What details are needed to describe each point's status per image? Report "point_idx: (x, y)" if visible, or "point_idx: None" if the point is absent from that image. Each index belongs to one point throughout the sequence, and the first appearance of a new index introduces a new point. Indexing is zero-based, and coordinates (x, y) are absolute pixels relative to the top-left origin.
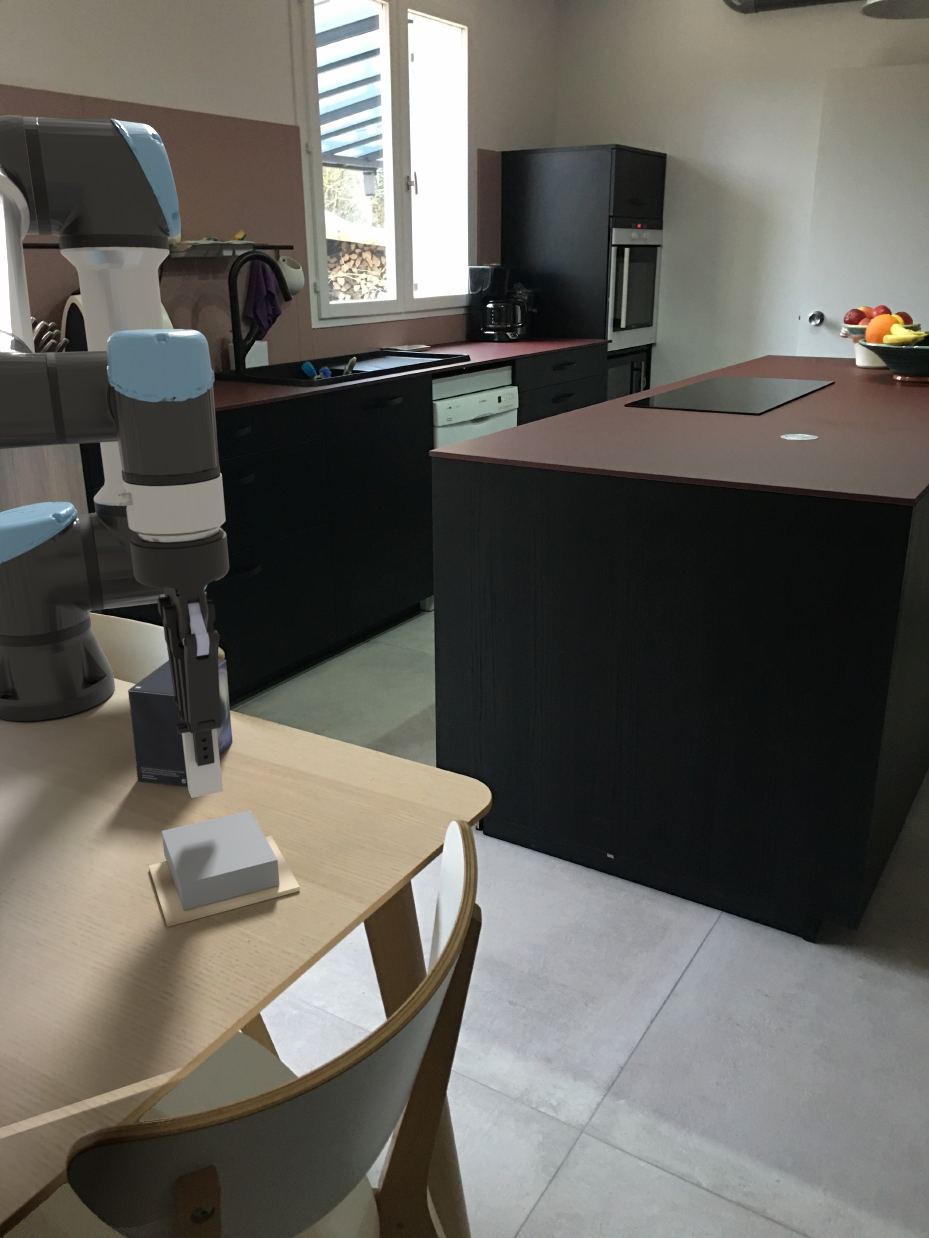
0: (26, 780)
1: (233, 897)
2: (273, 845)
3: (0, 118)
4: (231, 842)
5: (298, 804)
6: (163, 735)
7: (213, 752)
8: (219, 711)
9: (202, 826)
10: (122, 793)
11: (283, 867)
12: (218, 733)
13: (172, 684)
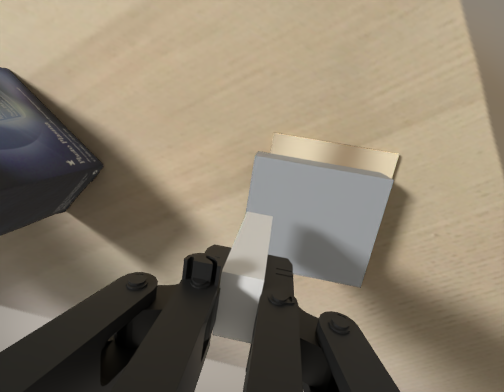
0: (13, 296)
1: None
2: (296, 140)
3: None
4: (316, 209)
5: (214, 62)
6: (30, 204)
7: (288, 270)
8: (384, 370)
9: None
10: (82, 231)
11: (348, 151)
12: (10, 99)
13: None
